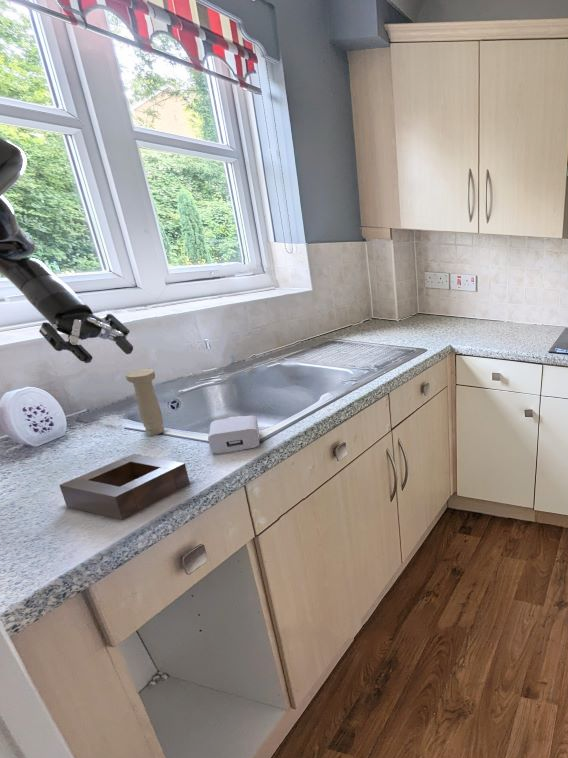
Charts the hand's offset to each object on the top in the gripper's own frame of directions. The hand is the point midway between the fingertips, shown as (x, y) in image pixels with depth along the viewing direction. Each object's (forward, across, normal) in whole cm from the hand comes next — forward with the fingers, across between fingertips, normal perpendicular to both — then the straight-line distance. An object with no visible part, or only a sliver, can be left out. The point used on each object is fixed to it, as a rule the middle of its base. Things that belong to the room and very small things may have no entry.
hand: (110, 356), depth 103 cm
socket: (+33, -22, -7) cm, 40 cm away
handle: (+18, 0, +8) cm, 20 cm away
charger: (+32, +4, -6) cm, 33 cm away
